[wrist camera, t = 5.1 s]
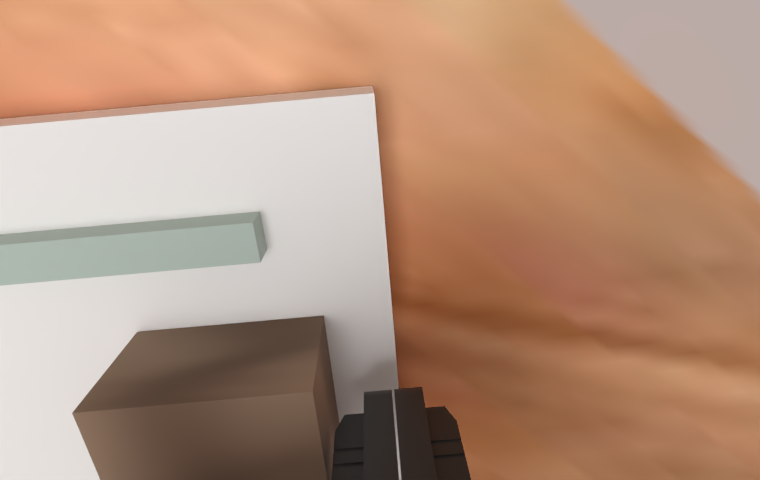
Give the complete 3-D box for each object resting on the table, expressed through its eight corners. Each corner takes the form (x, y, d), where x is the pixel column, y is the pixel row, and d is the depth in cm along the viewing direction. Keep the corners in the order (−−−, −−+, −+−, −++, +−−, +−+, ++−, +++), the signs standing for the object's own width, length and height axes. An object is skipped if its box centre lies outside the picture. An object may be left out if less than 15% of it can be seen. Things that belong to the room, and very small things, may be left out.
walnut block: (323, 315, 12) (312, 391, 10) (343, 455, 14) (339, 552, 12) (137, 331, 12) (72, 412, 10) (182, 469, 14) (138, 570, 12)
